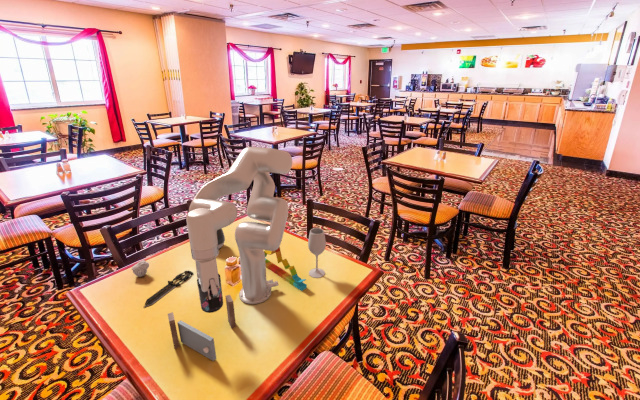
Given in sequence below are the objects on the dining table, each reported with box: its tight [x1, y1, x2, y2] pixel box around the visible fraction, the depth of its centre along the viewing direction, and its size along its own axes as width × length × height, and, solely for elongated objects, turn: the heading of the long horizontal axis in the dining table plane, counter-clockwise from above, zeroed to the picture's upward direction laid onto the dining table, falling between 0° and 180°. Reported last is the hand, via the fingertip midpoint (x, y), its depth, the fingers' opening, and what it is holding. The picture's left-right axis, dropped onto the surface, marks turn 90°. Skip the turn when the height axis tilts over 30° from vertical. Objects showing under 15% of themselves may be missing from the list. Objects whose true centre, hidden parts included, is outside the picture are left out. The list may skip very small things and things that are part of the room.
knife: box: [143, 270, 194, 308], centre depth 133 cm, size 25×6×1 cm, turn 154°
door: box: [176, 320, 217, 362], centre depth 100 cm, size 15×2×8 cm, turn 60°
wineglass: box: [307, 227, 327, 279], centre depth 140 cm, size 8×8×21 cm
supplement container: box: [196, 273, 224, 314], centre depth 98 cm, size 7×7×10 cm
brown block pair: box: [167, 294, 237, 350], centre depth 108 cm, size 20×4×11 cm, turn 120°
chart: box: [263, 245, 308, 292], centre depth 140 cm, size 30×3×15 cm, turn 45°
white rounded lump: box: [131, 259, 150, 278], centre depth 140 cm, size 6×7×7 cm
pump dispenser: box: [217, 228, 226, 249], centre depth 163 cm, size 10×10×15 cm
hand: (211, 300), depth 100 cm, fingers closed on supplement container, 6 cm apart
